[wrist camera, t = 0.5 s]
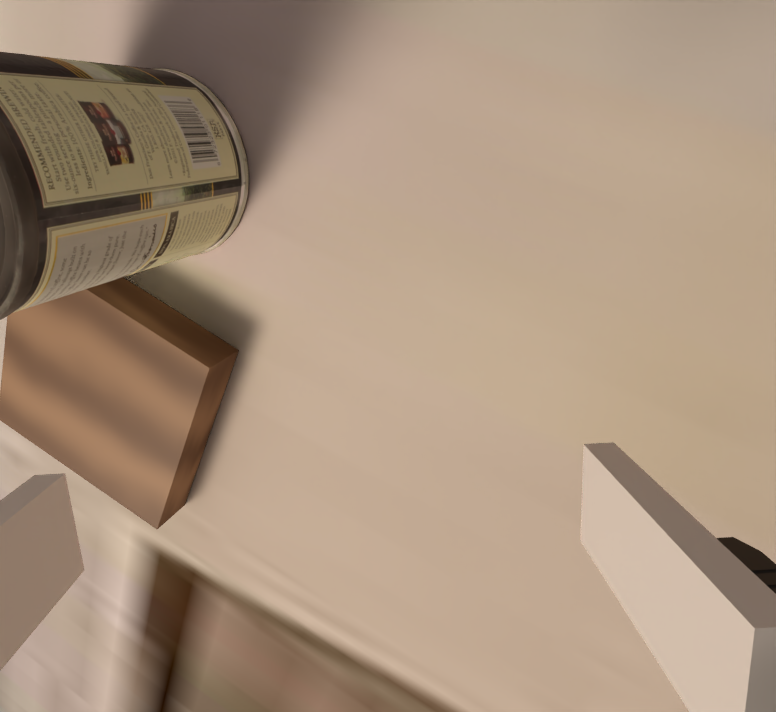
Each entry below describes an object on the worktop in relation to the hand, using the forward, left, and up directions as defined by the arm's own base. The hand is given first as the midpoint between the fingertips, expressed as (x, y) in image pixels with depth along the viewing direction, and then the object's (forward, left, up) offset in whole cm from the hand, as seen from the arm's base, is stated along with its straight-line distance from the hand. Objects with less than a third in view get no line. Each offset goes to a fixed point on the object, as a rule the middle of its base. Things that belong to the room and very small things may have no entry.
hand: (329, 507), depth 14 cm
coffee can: (+2, -19, -18) cm, 26 cm away
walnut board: (+18, -19, -17) cm, 31 cm away
